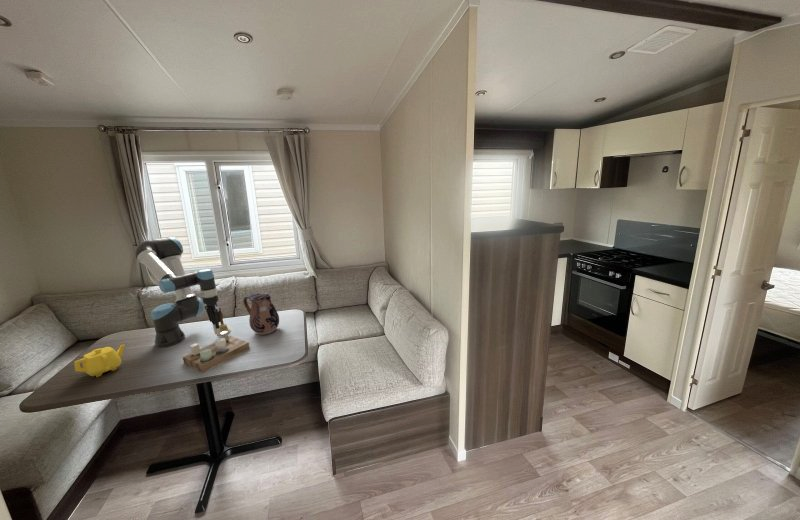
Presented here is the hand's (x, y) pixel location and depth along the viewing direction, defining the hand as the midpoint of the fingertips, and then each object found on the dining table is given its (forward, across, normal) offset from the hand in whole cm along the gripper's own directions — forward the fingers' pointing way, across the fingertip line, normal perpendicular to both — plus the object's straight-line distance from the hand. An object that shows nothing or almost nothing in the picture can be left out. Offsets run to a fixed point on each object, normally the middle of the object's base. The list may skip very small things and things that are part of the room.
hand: (217, 332), depth 178 cm
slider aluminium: (+3, +7, 0) cm, 7 cm away
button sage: (+3, +18, -16) cm, 24 cm away
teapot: (+7, -30, -44) cm, 54 cm away
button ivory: (+1, +18, -8) cm, 19 cm away
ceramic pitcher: (+8, +10, +23) cm, 26 cm away
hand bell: (+8, -14, +10) cm, 18 cm away
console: (+8, +12, -8) cm, 16 cm away
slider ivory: (+3, +7, -16) cm, 18 cm away
